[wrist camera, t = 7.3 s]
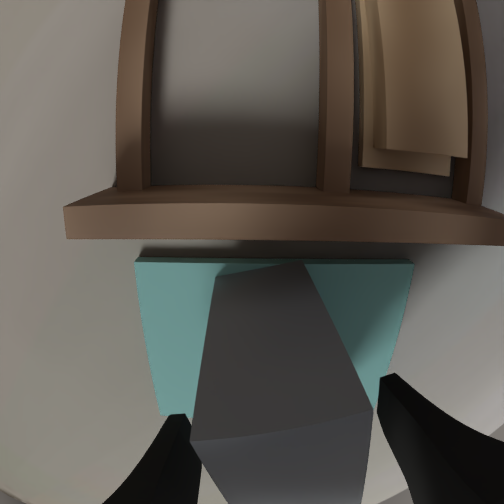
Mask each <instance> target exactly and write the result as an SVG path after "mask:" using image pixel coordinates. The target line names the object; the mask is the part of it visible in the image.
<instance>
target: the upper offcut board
mask: <svg viewBox="0 0 504 504" xmlns="http://www.w3.org/2000/svg"><path fill="white" fill-rule="evenodd" d="M364 1H365V8H366V16H367V25H368V35H369V45H370V58H371V72H372V92H373V148H382V149H394V150H405V151H415V152H424V153H432V154H440V155H448V156H455V157H462V158H467V153H468V114H467V92H466V79H465V68H464V59H463V51H462V44H461V37H460V31H459V25H458V19H457V14H456V9H455V5H454V0H364Z"/></svg>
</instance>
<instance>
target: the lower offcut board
mask: <svg viewBox="0 0 504 504" xmlns="http://www.w3.org/2000/svg"><path fill="white" fill-rule="evenodd" d="M355 3H356V16H357V30H358V50H359V87H360V114H359V153H358V166H361V167H370V168H381V169H391V170H401V171H410V172H419V173H427V174H434V175H442V176H449V174H450V160H451V156H448V155H440V154H432V153H424V152H415V151H405V150H394V149H382V148H373V92H372V72H371V58H370V45H369V35H368V25H367V16H366V8H365V1H364V0H355Z"/></svg>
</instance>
